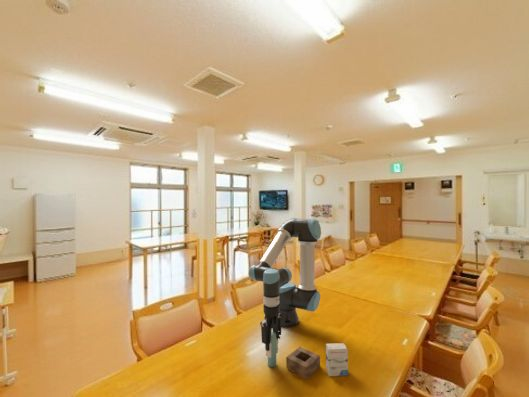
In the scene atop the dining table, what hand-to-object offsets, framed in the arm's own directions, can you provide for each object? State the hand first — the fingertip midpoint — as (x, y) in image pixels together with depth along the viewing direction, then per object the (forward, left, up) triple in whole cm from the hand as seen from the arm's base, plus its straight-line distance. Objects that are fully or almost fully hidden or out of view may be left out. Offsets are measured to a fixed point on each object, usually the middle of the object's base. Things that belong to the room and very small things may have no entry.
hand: (272, 354), depth 118 cm
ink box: (+25, +15, -5) cm, 30 cm away
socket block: (+12, +8, -5) cm, 15 cm away
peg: (0, 0, -5) cm, 5 cm away
